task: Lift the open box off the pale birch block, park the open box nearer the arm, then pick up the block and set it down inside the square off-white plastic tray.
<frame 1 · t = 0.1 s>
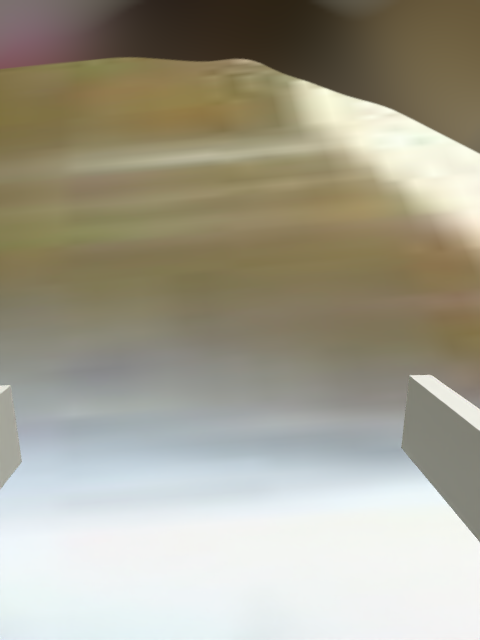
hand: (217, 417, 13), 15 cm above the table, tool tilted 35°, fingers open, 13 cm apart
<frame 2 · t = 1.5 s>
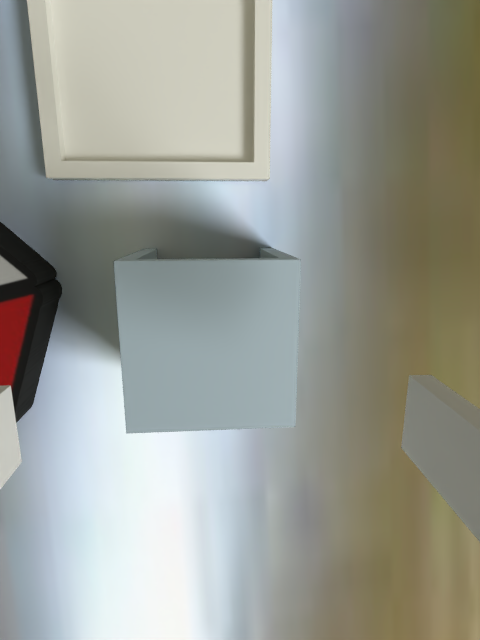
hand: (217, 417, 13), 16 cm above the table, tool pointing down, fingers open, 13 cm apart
tray: (157, 63, 25), on the table
open box: (210, 311, 29), on the table
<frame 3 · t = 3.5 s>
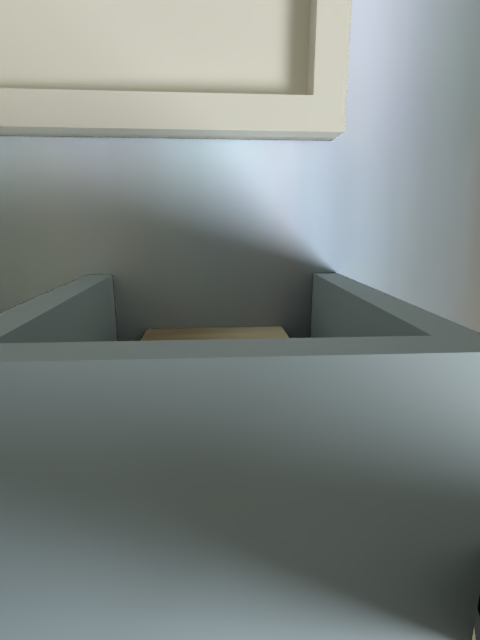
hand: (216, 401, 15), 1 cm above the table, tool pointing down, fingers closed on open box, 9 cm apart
block: (217, 428, 13), in the open box
open box: (216, 390, 16), on the table, touching gripper
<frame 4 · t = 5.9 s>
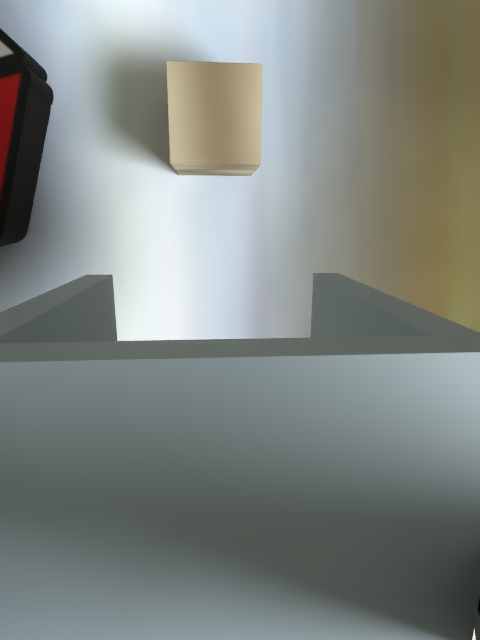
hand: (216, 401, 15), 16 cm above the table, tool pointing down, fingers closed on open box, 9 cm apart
block: (214, 126, 25), on the table
open box: (216, 390, 16), point 15 cm above the table, touching gripper
when the fingers open (2 cm above the table, at t = 8.5 s): open box drops 1 cm, on the table.
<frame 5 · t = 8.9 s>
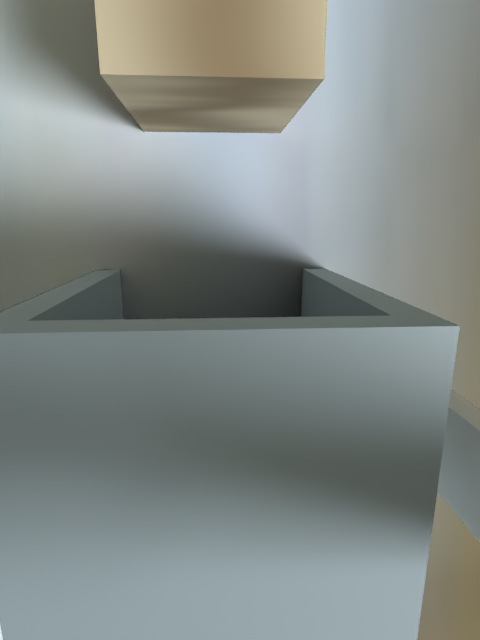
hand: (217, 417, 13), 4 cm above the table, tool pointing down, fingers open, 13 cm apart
block: (211, 13, 11), on the table
open box: (214, 376, 17), on the table
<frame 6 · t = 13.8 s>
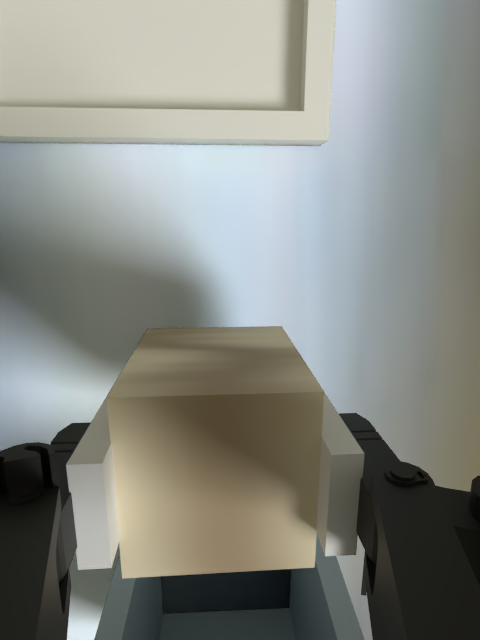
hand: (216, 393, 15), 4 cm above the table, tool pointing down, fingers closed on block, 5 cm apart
block: (217, 428, 13), point 6 cm above the table, touching gripper
open box: (226, 559, 22), on the table
when the fingers open (1 cm above the table, at t = 18.3 s): block stays where it is, resting on tray.
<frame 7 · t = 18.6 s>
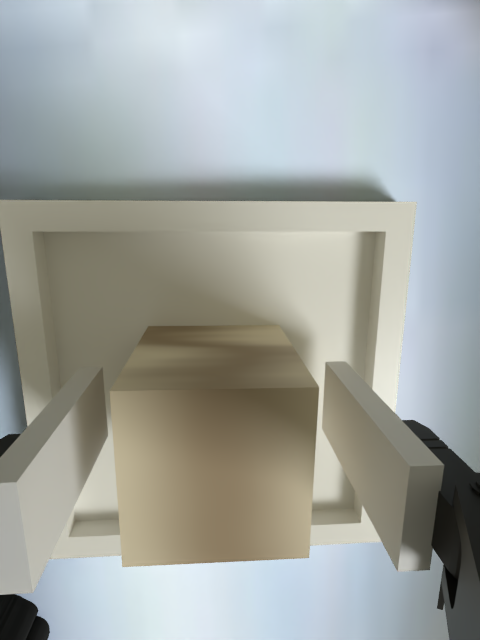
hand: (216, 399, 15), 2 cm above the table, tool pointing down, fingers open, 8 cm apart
tray: (216, 380, 17), on the table
block: (215, 423, 13), resting on tray
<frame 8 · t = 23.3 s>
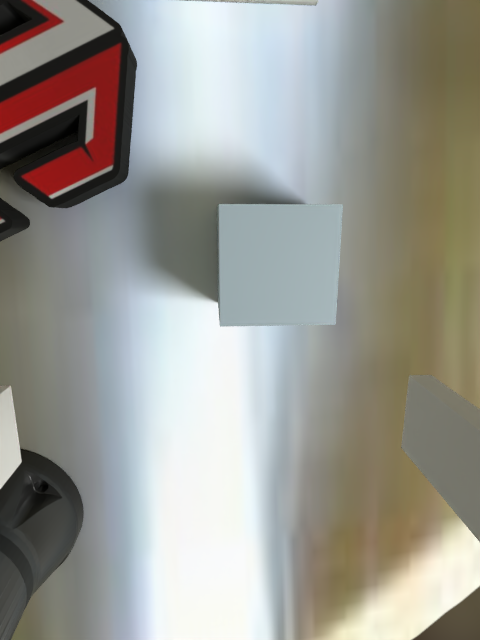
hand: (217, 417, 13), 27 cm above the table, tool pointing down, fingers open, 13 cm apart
open box: (264, 256, 39), on the table
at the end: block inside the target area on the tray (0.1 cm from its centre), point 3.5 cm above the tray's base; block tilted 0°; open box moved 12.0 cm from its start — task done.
